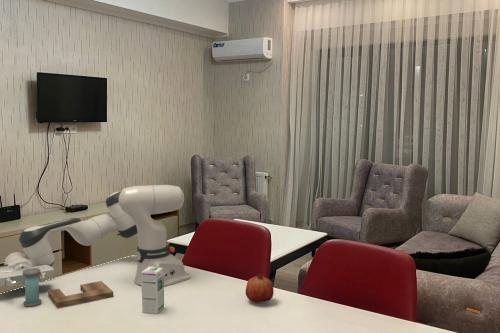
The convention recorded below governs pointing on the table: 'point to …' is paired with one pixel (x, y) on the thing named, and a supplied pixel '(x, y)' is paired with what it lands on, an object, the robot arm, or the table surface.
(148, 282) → the syrup box
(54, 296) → the notched board
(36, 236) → the robot arm
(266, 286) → the fruit
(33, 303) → the bobbin
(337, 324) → the table surface
